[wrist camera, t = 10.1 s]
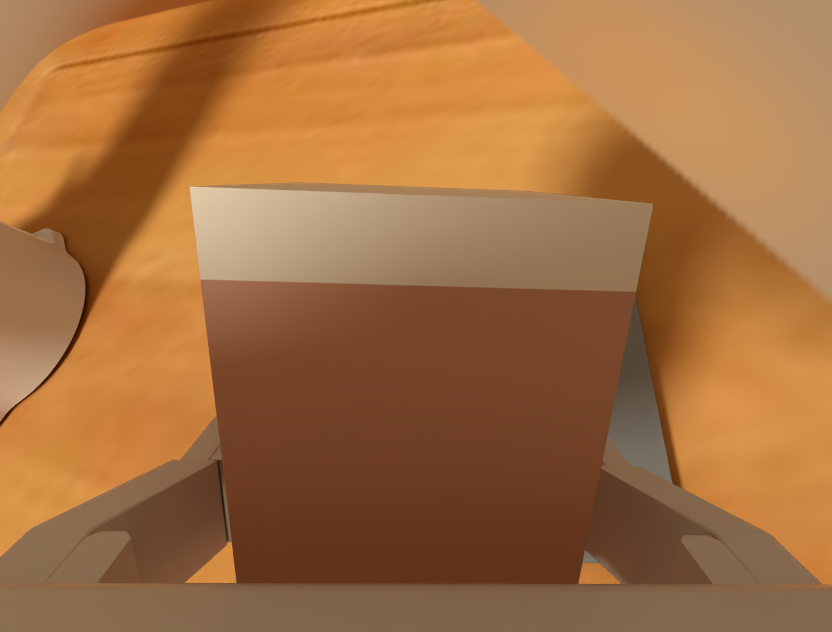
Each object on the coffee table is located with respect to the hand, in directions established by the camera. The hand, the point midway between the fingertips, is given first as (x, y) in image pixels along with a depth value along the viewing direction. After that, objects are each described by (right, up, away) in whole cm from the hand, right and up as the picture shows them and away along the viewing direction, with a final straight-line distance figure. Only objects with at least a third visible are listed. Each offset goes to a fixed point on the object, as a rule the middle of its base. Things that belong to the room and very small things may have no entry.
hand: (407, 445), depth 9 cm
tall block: (0, -6, +1) cm, 7 cm away
